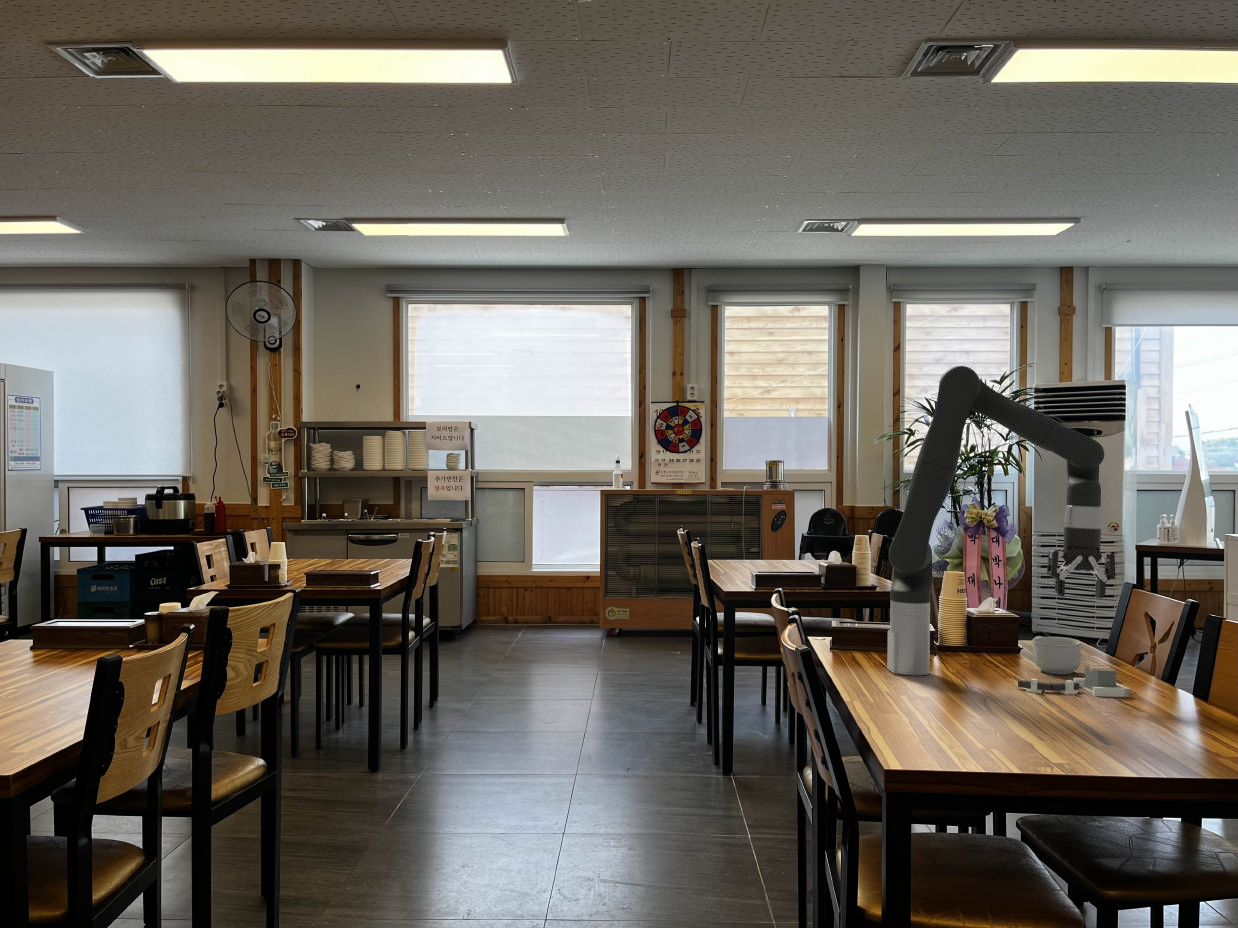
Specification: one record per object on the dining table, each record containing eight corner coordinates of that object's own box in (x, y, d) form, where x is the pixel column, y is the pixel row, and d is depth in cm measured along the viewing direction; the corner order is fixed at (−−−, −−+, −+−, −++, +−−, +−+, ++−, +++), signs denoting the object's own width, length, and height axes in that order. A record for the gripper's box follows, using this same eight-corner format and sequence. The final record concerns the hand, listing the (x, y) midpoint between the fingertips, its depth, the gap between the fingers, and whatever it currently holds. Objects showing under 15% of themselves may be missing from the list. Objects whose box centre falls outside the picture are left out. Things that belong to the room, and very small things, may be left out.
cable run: (1023, 690, 201) (1023, 683, 201) (1015, 685, 205) (1015, 679, 205) (1083, 691, 200) (1083, 685, 200) (1074, 687, 205) (1074, 680, 205)
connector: (1097, 693, 201) (1097, 669, 201) (1084, 686, 207) (1084, 664, 207) (1116, 693, 200) (1116, 670, 200) (1102, 687, 206) (1102, 664, 206)
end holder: (1094, 696, 199) (1094, 687, 199) (1073, 685, 209) (1073, 677, 209) (1129, 696, 198) (1129, 688, 198) (1106, 686, 208) (1106, 678, 208)
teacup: (1089, 677, 218) (1089, 644, 219) (1043, 676, 219) (1044, 643, 219) (1062, 665, 232) (1062, 634, 232) (1019, 664, 233) (1019, 633, 233)
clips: (1029, 693, 200) (1029, 680, 200) (1019, 687, 206) (1019, 675, 206) (1079, 694, 200) (1079, 681, 200) (1067, 688, 205) (1067, 676, 205)
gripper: (1057, 525, 204) (1055, 597, 204) (1122, 528, 203) (1120, 600, 203) (1043, 523, 211) (1041, 593, 211) (1106, 526, 211) (1103, 596, 211)
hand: (1080, 596), depth 207 cm, fingers open, 8 cm apart
